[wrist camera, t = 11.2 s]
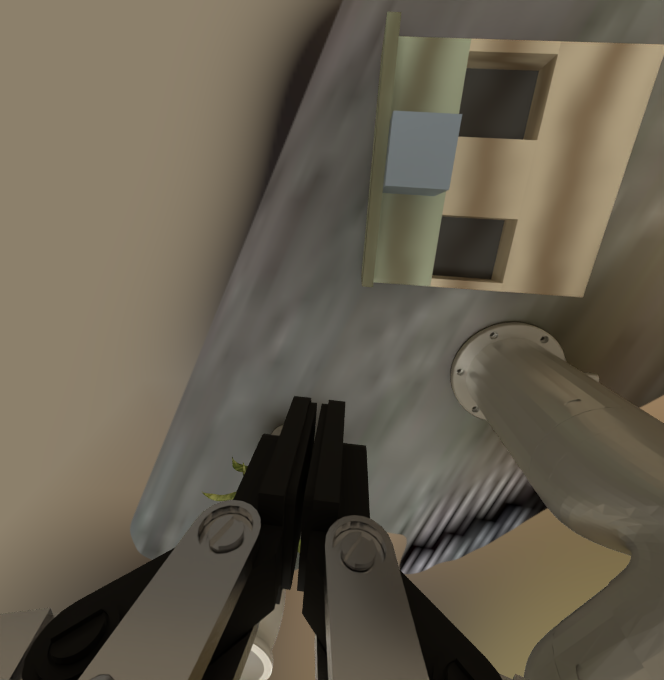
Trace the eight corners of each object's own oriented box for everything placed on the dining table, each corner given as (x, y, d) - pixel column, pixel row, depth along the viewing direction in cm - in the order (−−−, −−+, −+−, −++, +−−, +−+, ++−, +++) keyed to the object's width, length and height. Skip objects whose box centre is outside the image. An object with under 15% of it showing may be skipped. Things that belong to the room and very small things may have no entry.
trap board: (635, 63, 27) (707, 20, 22) (564, 291, 34) (605, 303, 28) (381, 55, 28) (387, 11, 23) (361, 277, 35) (362, 286, 29)
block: (444, 133, 27) (462, 114, 23) (434, 196, 29) (449, 189, 24) (387, 130, 28) (393, 110, 23) (380, 192, 29) (384, 185, 25)
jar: (298, 523, 48) (274, 644, 34) (293, 569, 52) (269, 696, 38) (231, 512, 49) (179, 627, 34) (230, 558, 52) (183, 680, 38)
